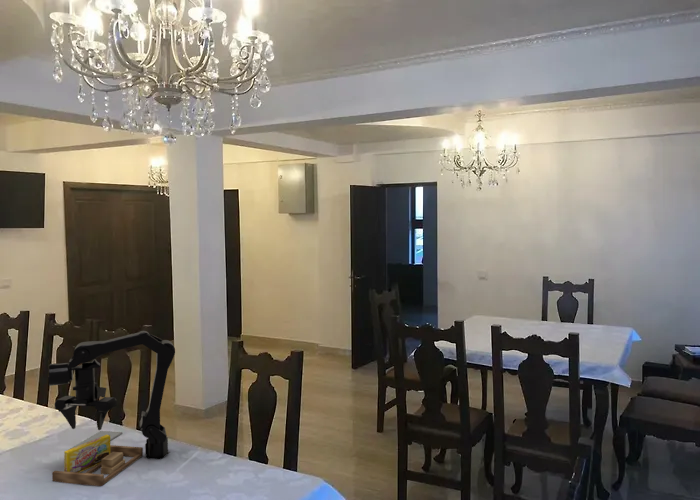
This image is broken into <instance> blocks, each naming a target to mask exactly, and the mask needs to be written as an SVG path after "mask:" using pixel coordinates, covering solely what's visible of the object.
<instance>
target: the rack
mask: <svg viewBox="0 0 700 500" xmlns="http://www.w3.org/2000/svg"><path fill="white" fill-rule="evenodd" d="M143 449H144V447H143V446H142V447H141V446H128V445H116V444H115V445H113V444H110V453H112V452H122V453H123V457H128V458H129V457H130V459H129V460H128V461H125V464H124V465H122V466H121V467H119V468H118V469H117V470H115V471H114V472H112V473H111V474H110V475H108V474H107V476H105V474H101V473H95V472H96V471H98V470H99V469H101V467H102V462H101V463H99V464H98V465H95V466H93V467H91V468H89V470H87V471H85V472H79V473H78V472H65V471H64V470H54V471H52V472H51V477H52V478H51V479H52V482H56V483H57V482H58V483H63V484H64V483H66V484H73V485H83V486H85V485H86V486H95V487H96V486H97V487H103V486H104V485H105V484H107V483H108V482H109V481H111V480H112V479H113V478H115V477H116V476H117V475H118V474H121V473H122V472H123V471H124V470H125V469H127V468H128V467H129V466H131V465H133V463H135V462H136V461H138V460H139V459H141V458H142V457H143V453H144V452H143V451H144V450H143Z"/></svg>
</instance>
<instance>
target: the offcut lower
mask: <svg viewBox="0 0 700 500" xmlns="http://www.w3.org/2000/svg"><path fill="white" fill-rule="evenodd" d="M125 463H126V459H125V458H123V461H121V462H120V463H118V464H117V465H115V466H114V467H113V468H107V467H101V468H100V474H103V475H107V476H108V475H110V474H111V473H112V472H114V471H115V470H117V469H118V468H119V467H121V466H122V465H124V464H125Z"/></svg>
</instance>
